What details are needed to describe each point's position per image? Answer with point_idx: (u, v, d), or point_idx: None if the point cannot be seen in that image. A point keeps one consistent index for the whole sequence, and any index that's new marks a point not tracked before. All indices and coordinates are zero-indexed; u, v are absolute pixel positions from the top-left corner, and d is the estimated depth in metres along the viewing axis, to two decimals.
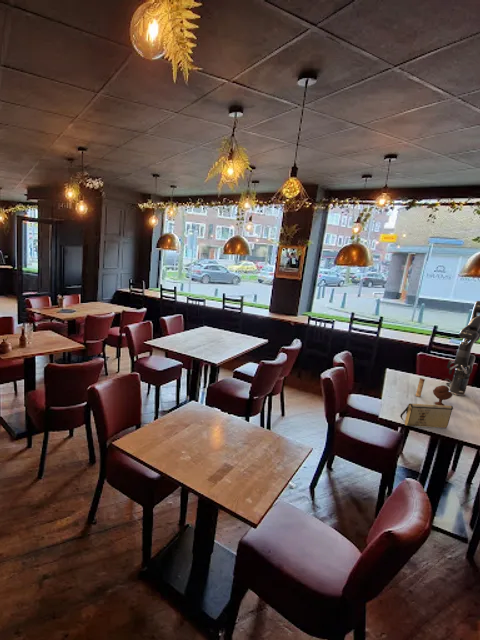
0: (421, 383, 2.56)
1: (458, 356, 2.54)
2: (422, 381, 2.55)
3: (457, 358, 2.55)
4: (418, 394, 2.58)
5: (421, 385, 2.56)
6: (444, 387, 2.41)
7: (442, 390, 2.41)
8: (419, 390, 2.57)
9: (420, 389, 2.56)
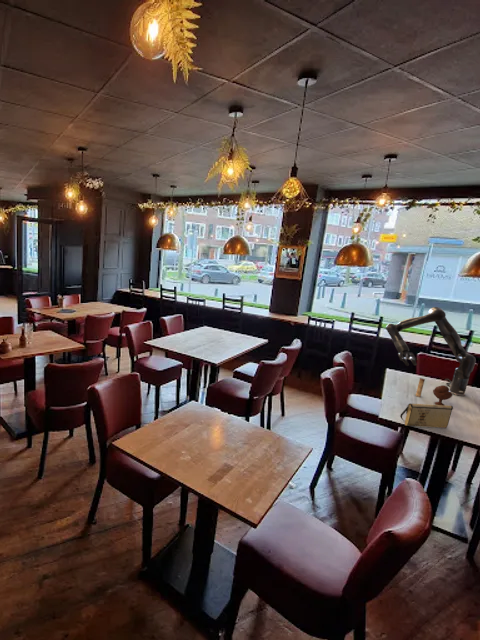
0: (421, 383, 2.56)
1: None
2: (422, 381, 2.55)
3: None
4: (418, 394, 2.58)
5: (421, 385, 2.56)
6: (444, 387, 2.41)
7: (442, 390, 2.41)
8: (419, 390, 2.57)
9: (420, 389, 2.56)
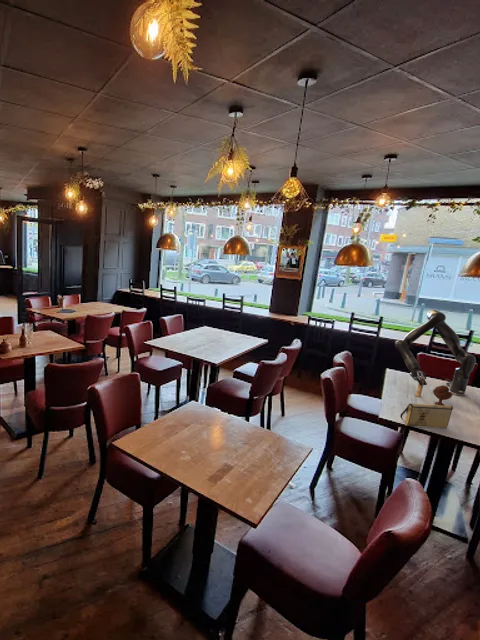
0: None
1: None
2: (422, 381, 2.55)
3: None
4: (418, 394, 2.58)
5: None
6: (444, 387, 2.41)
7: (442, 390, 2.41)
8: (419, 390, 2.57)
9: (420, 389, 2.56)
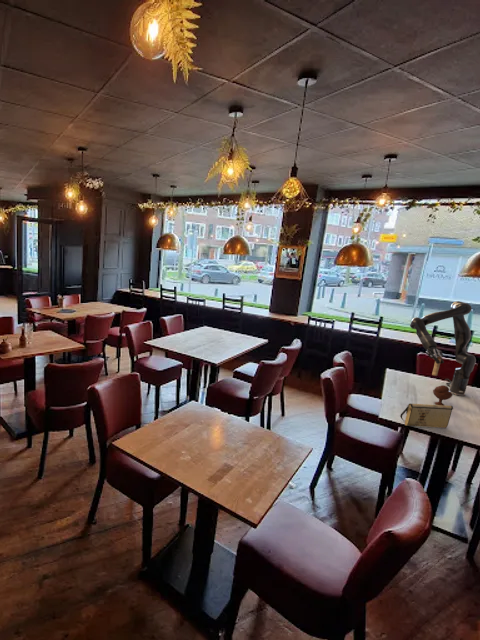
0: None
1: None
2: (439, 359, 2.45)
3: None
4: (435, 373, 2.47)
5: None
6: (444, 387, 2.41)
7: (442, 390, 2.41)
8: (436, 369, 2.46)
9: (437, 367, 2.46)
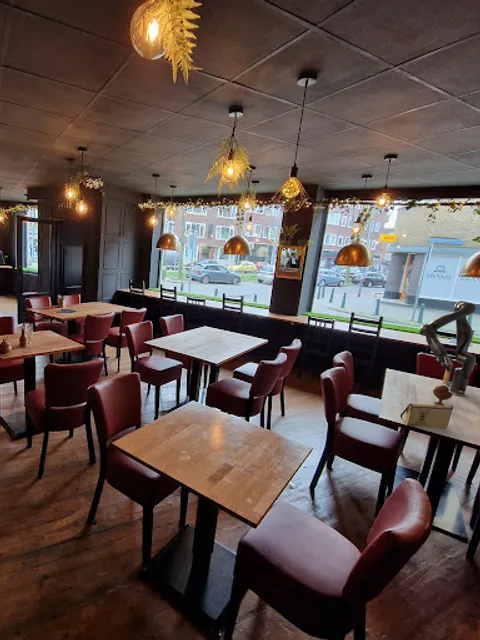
0: None
1: None
2: (450, 367, 2.40)
3: None
4: (445, 381, 2.43)
5: None
6: (444, 387, 2.41)
7: (442, 390, 2.41)
8: (446, 377, 2.42)
9: (447, 376, 2.42)
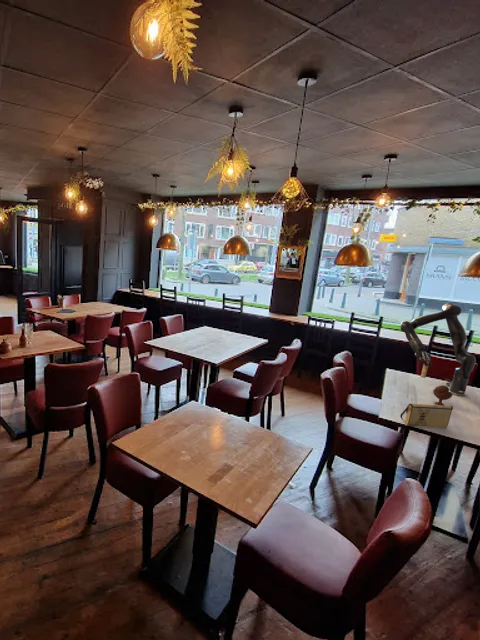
0: None
1: None
2: (427, 362, 2.52)
3: None
4: (423, 375, 2.54)
5: (426, 366, 2.52)
6: (444, 387, 2.41)
7: (442, 390, 2.41)
8: (424, 371, 2.53)
9: (425, 370, 2.53)
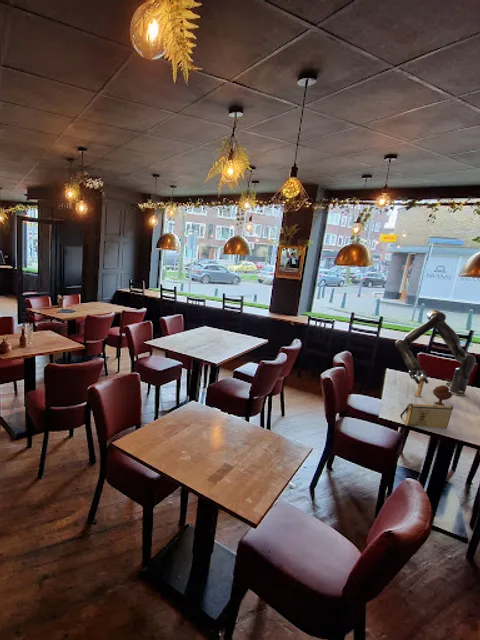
0: (421, 383, 2.55)
1: None
2: (422, 381, 2.55)
3: None
4: (418, 394, 2.57)
5: (421, 385, 2.56)
6: (444, 387, 2.41)
7: (442, 390, 2.41)
8: (419, 390, 2.57)
9: (420, 389, 2.56)
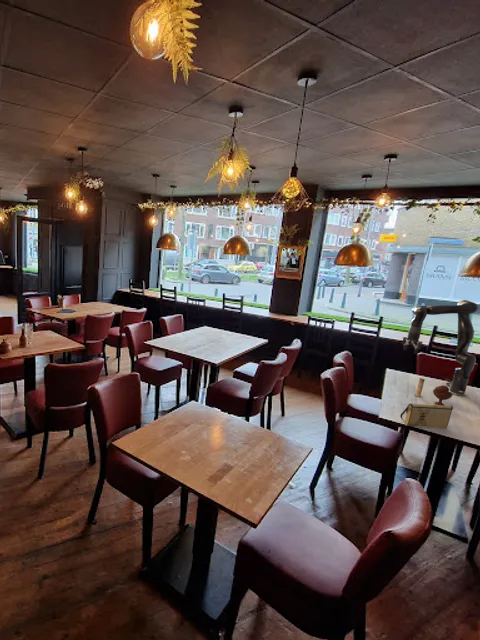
0: (421, 383, 2.55)
1: (409, 332, 2.65)
2: (422, 381, 2.55)
3: (408, 334, 2.66)
4: (418, 394, 2.57)
5: (421, 385, 2.56)
6: (444, 387, 2.41)
7: (442, 390, 2.41)
8: (419, 390, 2.57)
9: (420, 389, 2.56)
